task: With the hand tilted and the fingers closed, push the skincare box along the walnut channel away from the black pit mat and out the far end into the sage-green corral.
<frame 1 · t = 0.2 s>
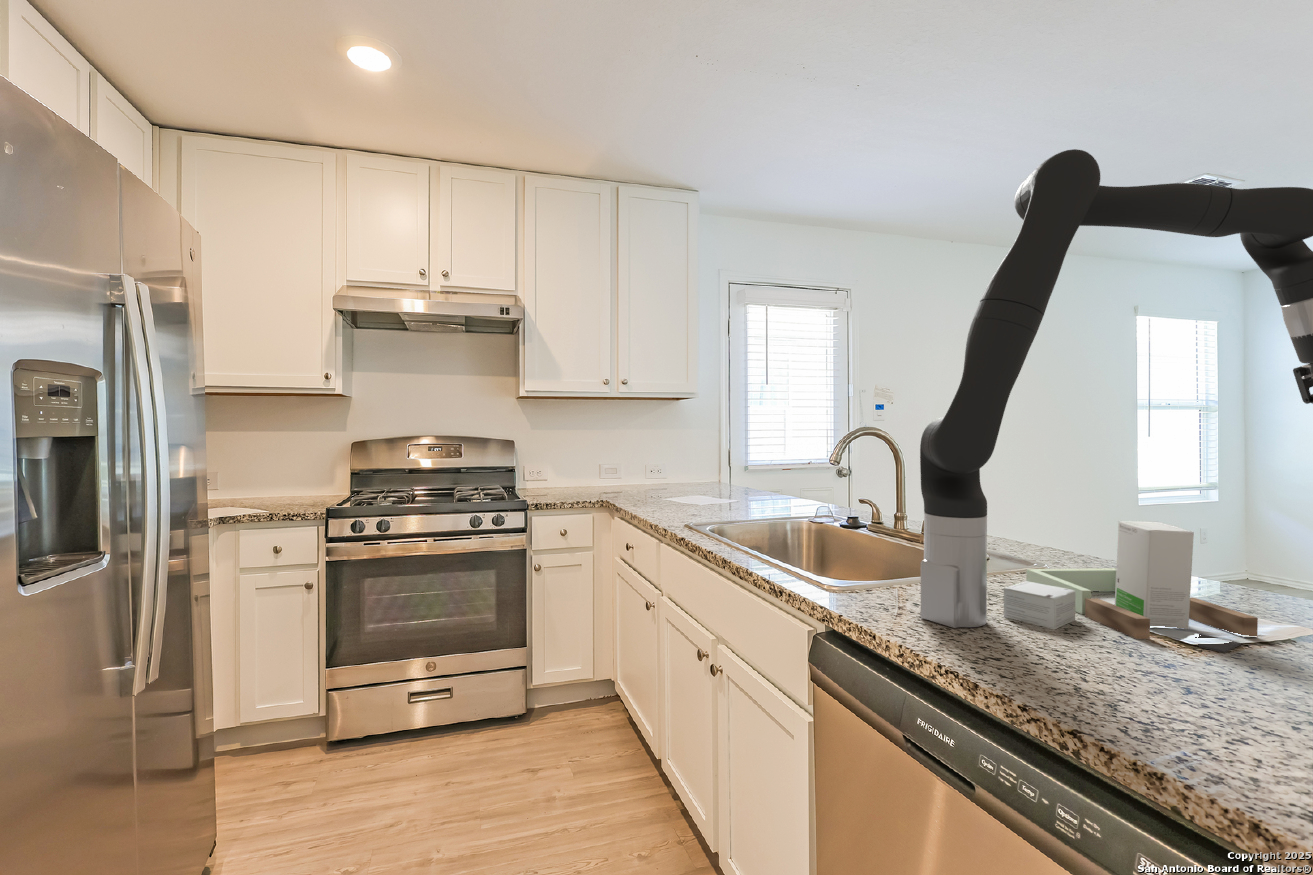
skincare box: (1151, 622, 97), on the worktop
small box: (1039, 620, 99), on the worktop
channel: (1166, 626, 94), on the worktop
pit mat: (1209, 643, 87), on the worktop
corral: (1104, 602, 107), on the worktop
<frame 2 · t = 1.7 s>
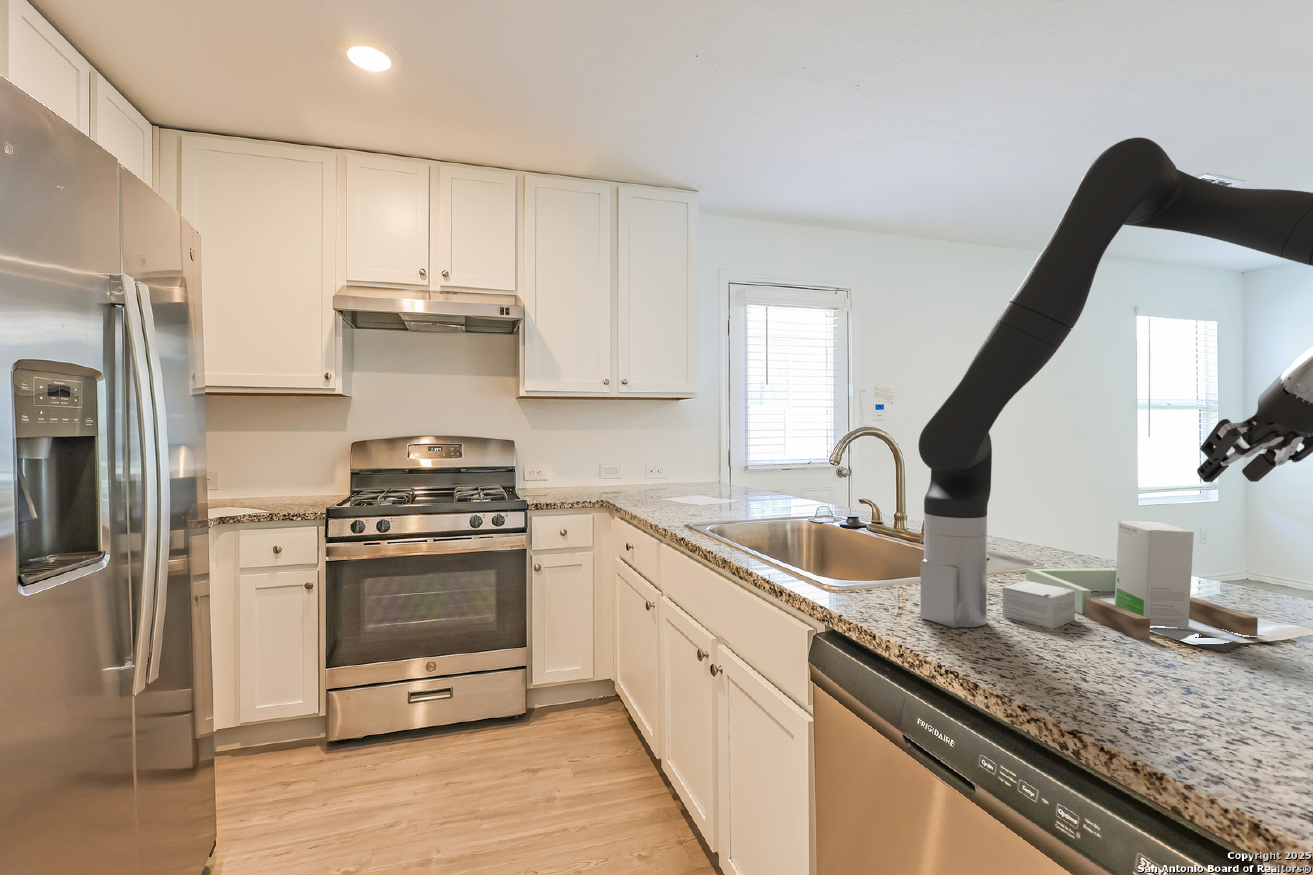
hand: (1225, 476, 84), 24 cm above the worktop, tool tilted 45°, fingers open, 5 cm apart
nothing on the worktop moved.
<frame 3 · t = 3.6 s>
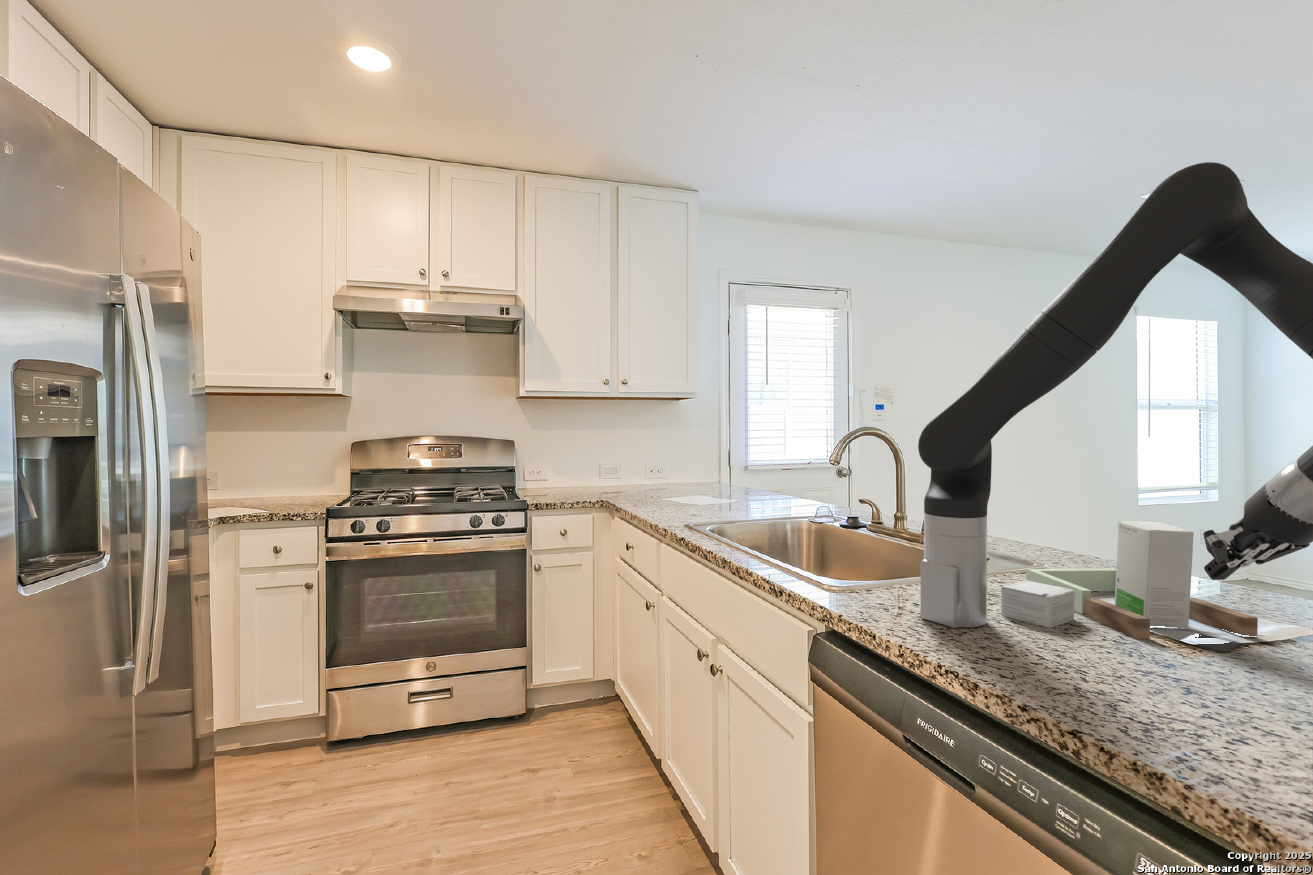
hand: (1212, 574, 87), 10 cm above the worktop, tool tilted 45°, fingers closed
nothing on the worktop moved.
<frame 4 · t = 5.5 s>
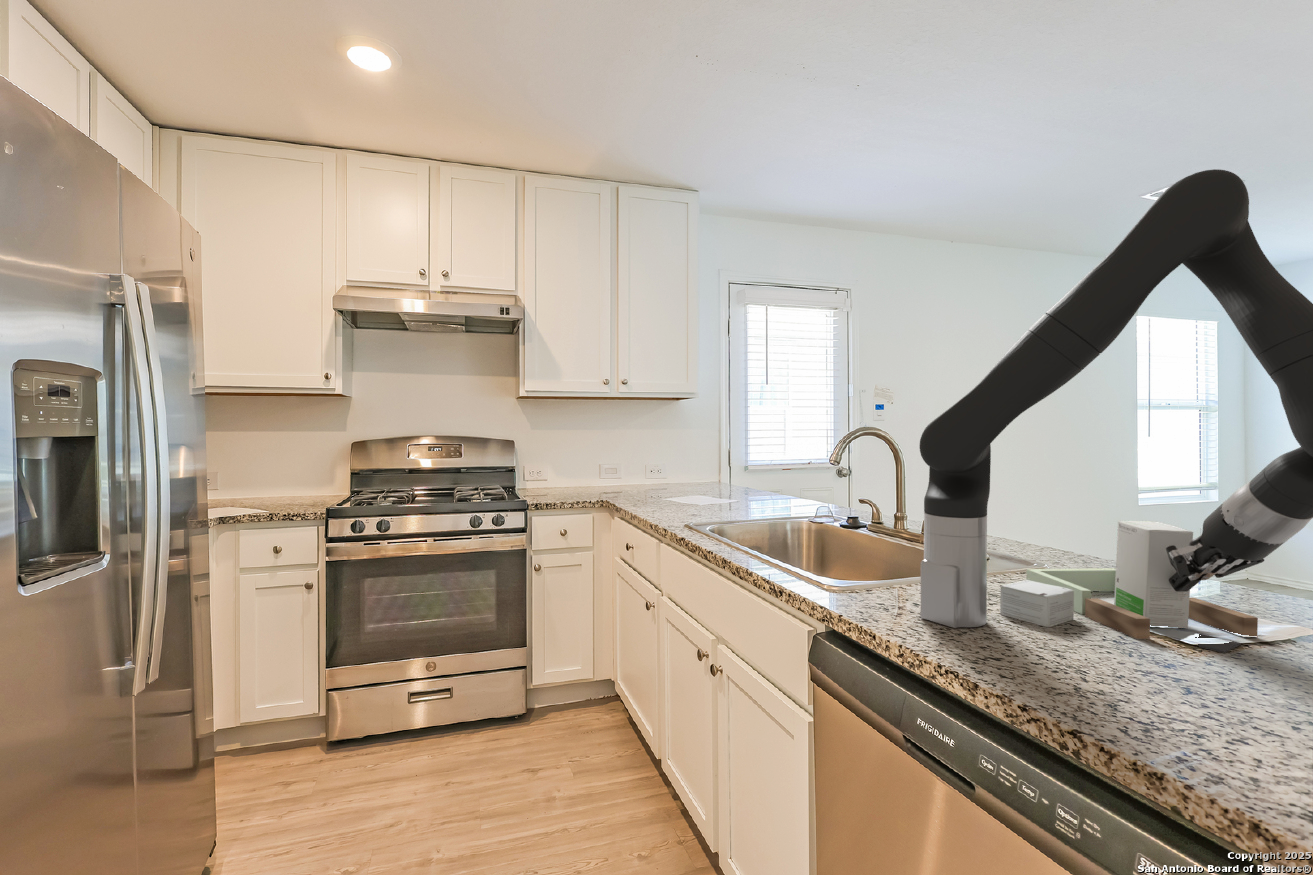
hand: (1176, 586, 92), 7 cm above the worktop, tool tilted 45°, fingers closed
skincare box: (1151, 621, 97), on the worktop, touching gripper
everything else where it was.
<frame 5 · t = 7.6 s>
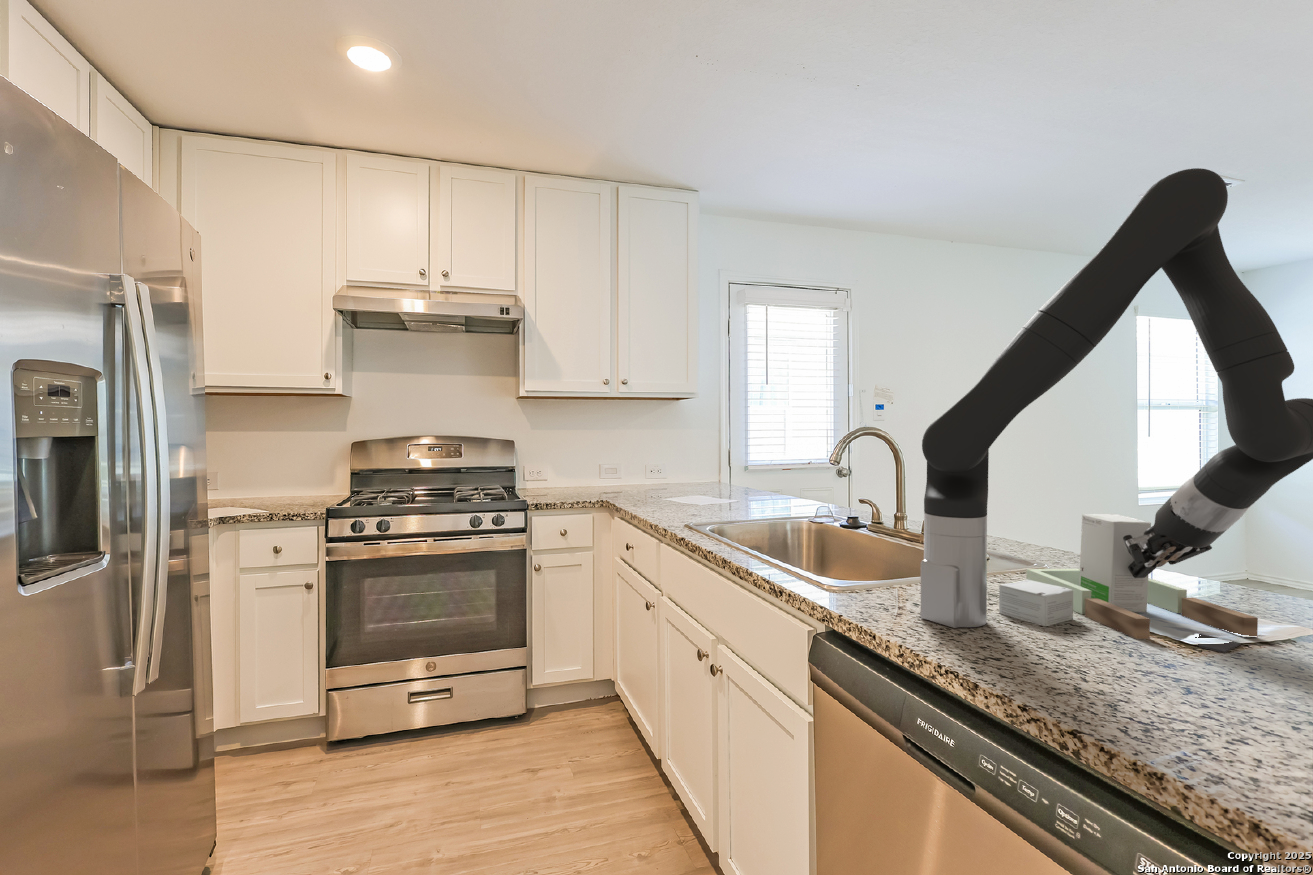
hand: (1135, 573, 100), 7 cm above the worktop, tool tilted 45°, fingers closed
skincare box: (1113, 607, 105), on the worktop, touching gripper
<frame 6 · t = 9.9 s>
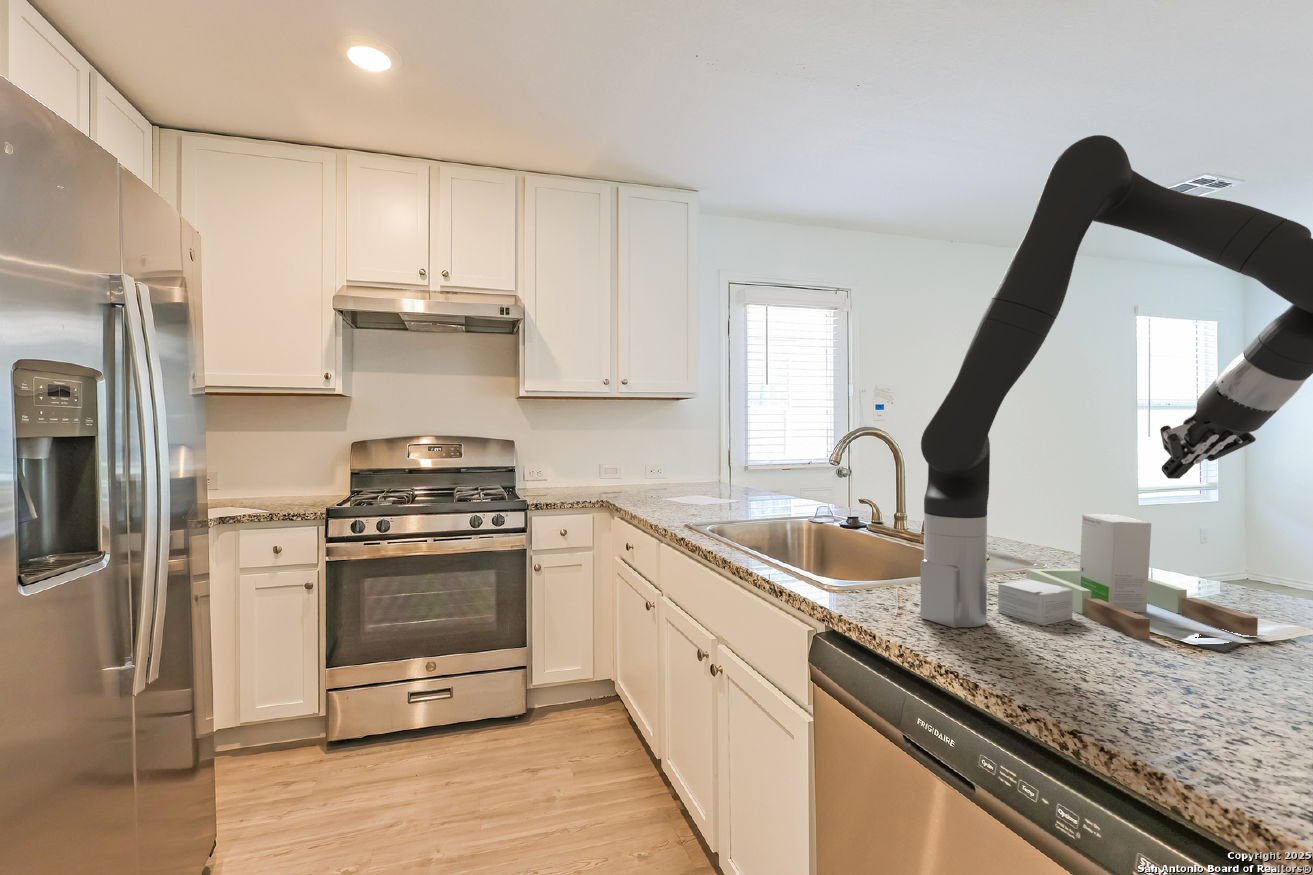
hand: (1169, 474, 93), 24 cm above the worktop, tool tilted 45°, fingers closed
skincare box: (1113, 607, 105), on the worktop
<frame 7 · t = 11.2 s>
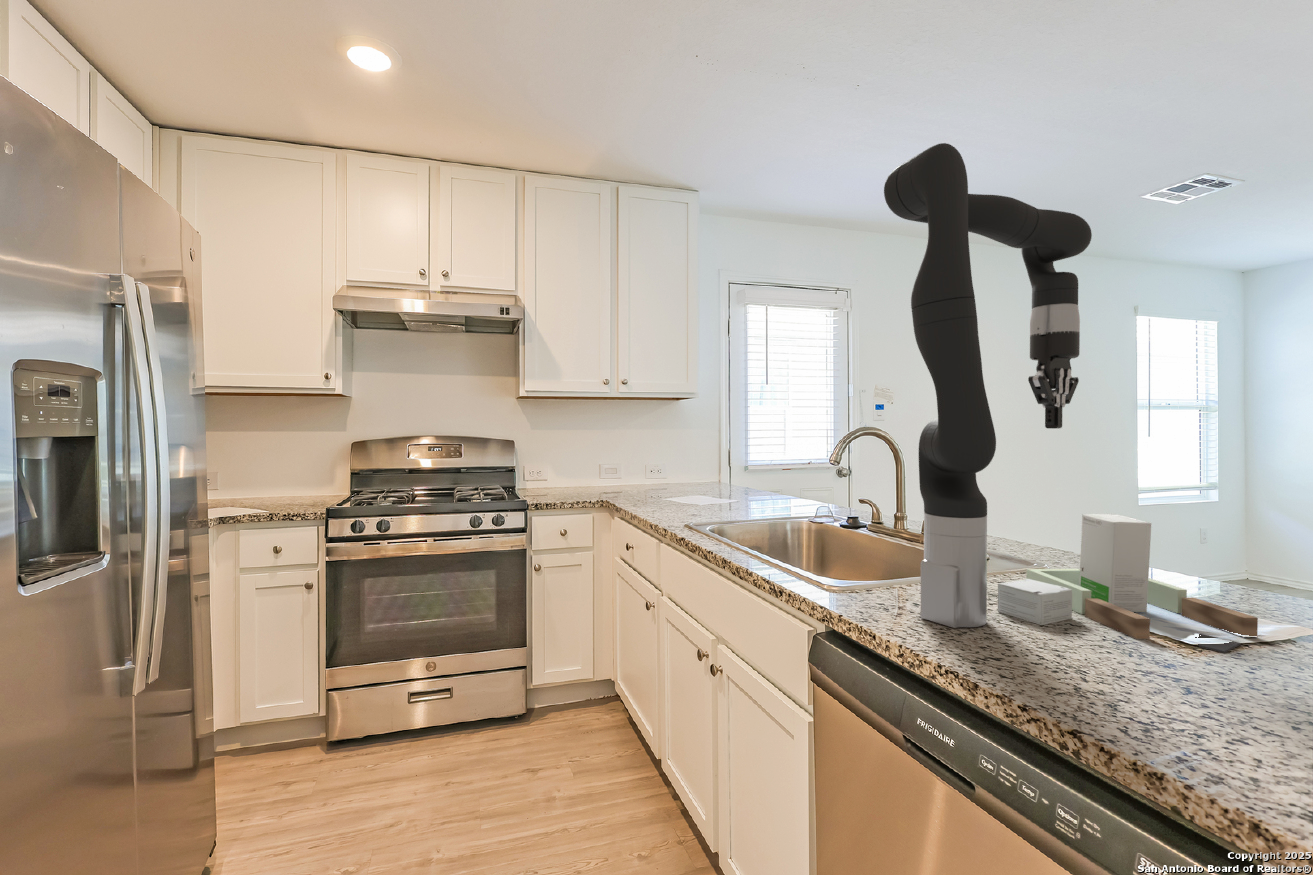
hand: (1053, 428, 109), 31 cm above the worktop, tool pointing down, fingers closed
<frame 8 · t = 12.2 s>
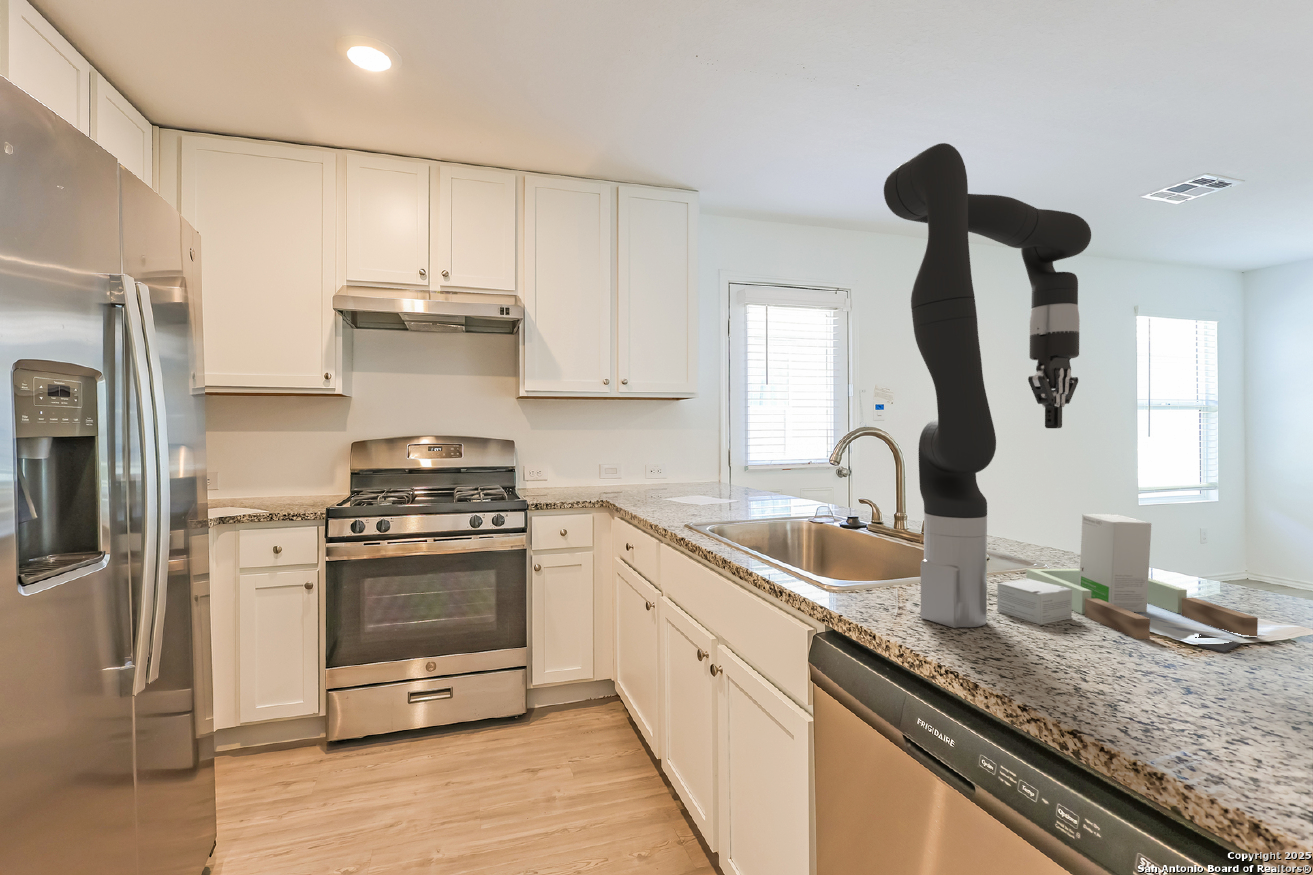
hand: (1053, 428, 109), 31 cm above the worktop, tool pointing down, fingers closed
at the end: skincare box inside the target area on the corral (2.2 cm from its centre), point 0.0 cm above the corral's base; skincare box tilted 0°; skincare box moved 8.0 cm from its start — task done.
